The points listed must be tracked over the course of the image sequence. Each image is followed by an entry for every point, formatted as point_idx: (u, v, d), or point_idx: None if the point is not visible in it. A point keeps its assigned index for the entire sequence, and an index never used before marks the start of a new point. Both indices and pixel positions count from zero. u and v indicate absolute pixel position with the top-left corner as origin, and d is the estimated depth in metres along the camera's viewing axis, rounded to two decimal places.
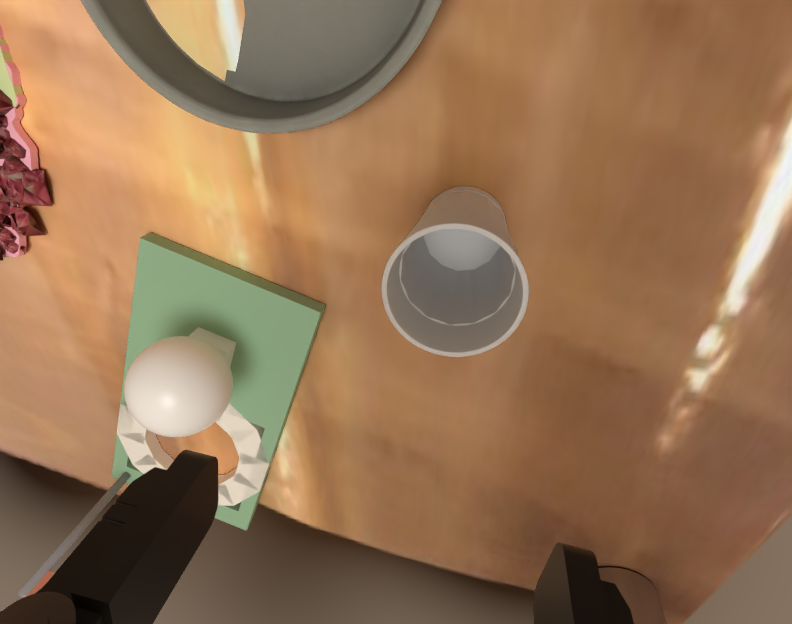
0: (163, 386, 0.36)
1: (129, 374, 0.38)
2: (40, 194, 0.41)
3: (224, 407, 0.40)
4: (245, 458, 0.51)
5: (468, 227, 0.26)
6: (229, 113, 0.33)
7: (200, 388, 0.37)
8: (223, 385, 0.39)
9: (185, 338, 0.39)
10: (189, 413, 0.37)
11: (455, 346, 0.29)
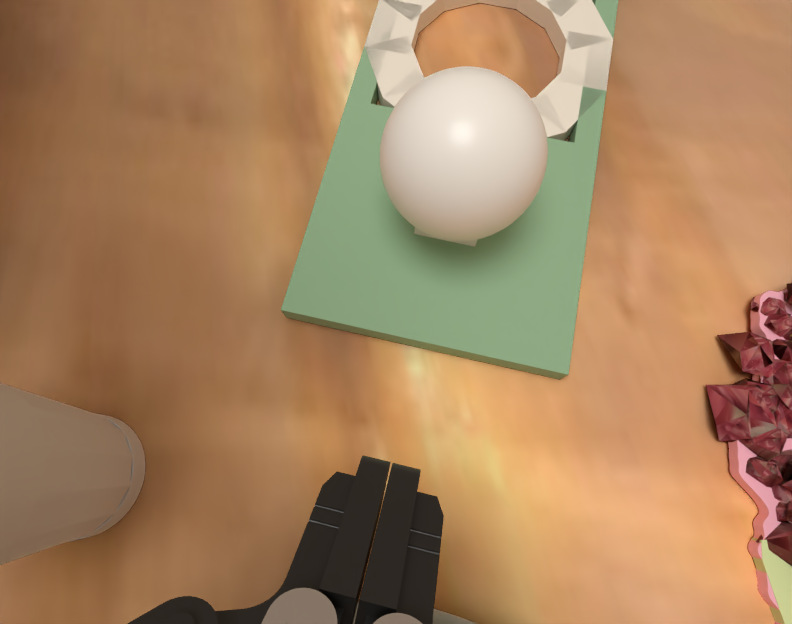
0: (457, 161, 0.21)
1: (531, 167, 0.22)
2: (722, 404, 0.27)
3: None
4: (402, 47, 0.33)
5: None
6: None
7: (403, 169, 0.22)
8: (383, 176, 0.24)
9: (461, 240, 0.24)
10: (412, 120, 0.21)
11: None
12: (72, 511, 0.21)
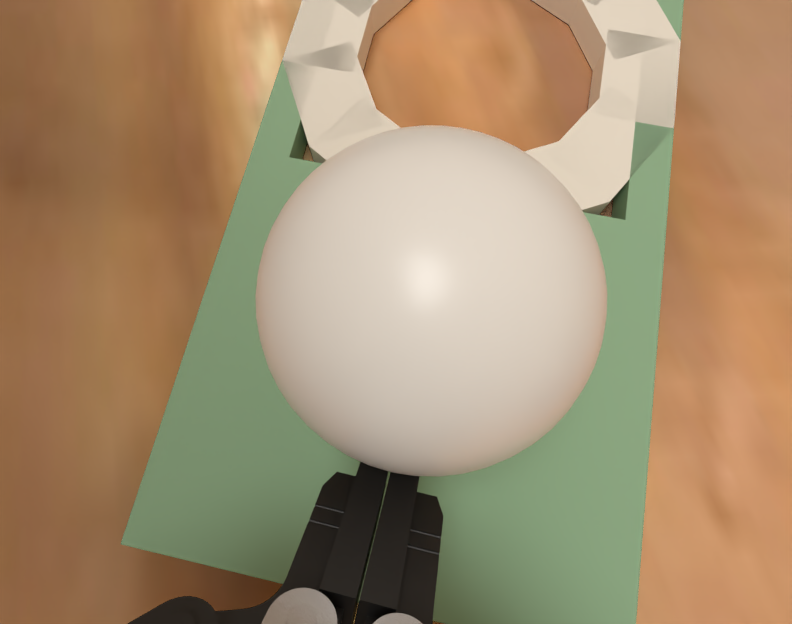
0: (401, 377, 0.08)
1: (578, 362, 0.09)
2: None
3: None
4: (342, 60, 0.21)
5: None
6: None
7: (286, 368, 0.10)
8: None
9: None
10: (298, 265, 0.09)
11: None
12: None
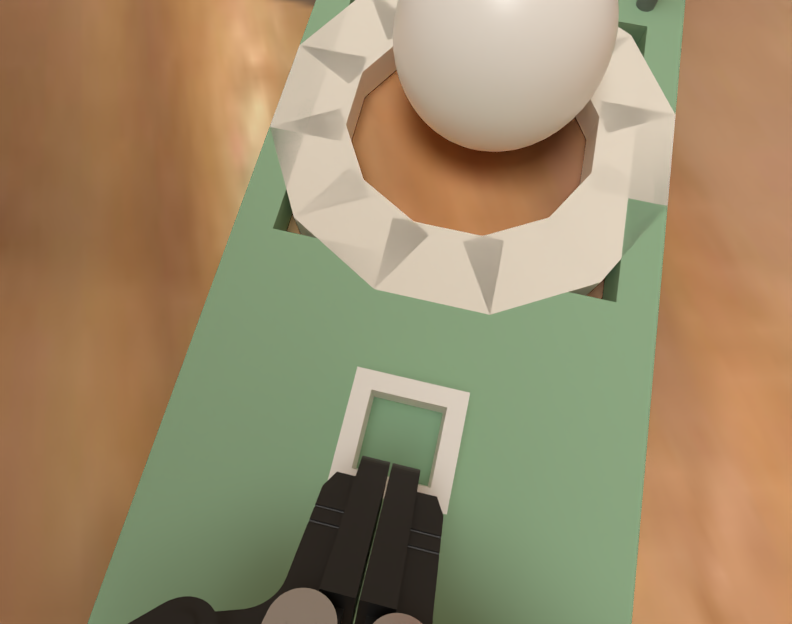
0: None
1: None
2: None
3: None
4: (331, 128, 0.20)
5: None
6: None
7: None
8: None
9: None
10: None
11: None
12: None
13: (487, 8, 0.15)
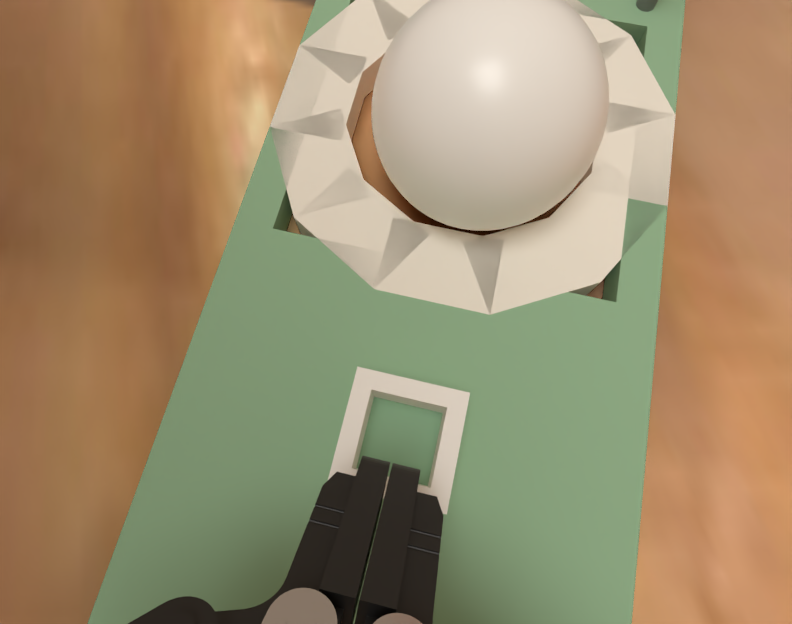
0: None
1: None
2: None
3: None
4: (331, 128, 0.20)
5: None
6: None
7: None
8: None
9: None
10: None
11: None
12: None
13: (448, 206, 0.16)
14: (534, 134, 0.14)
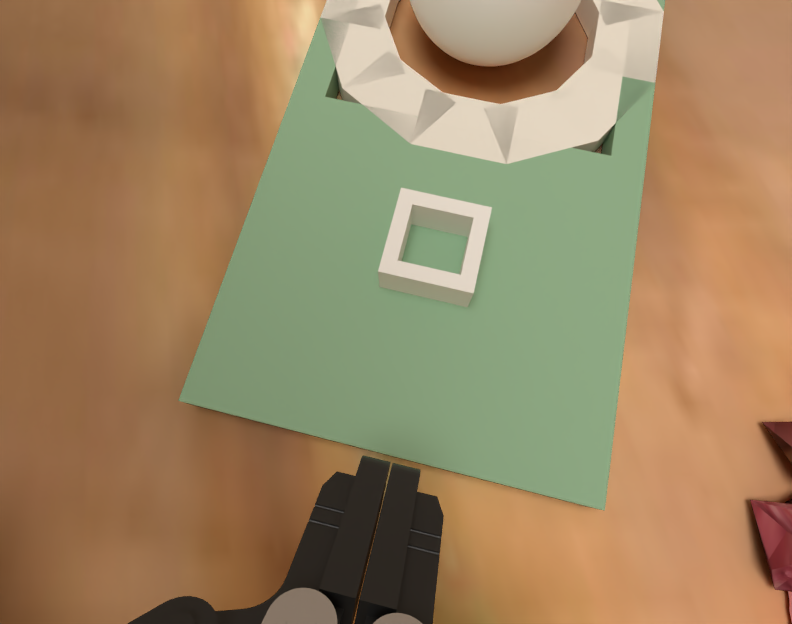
0: None
1: None
2: (778, 534, 0.18)
3: None
4: (372, 19, 0.24)
5: None
6: None
7: None
8: None
9: None
10: None
11: None
12: None
13: None
14: None
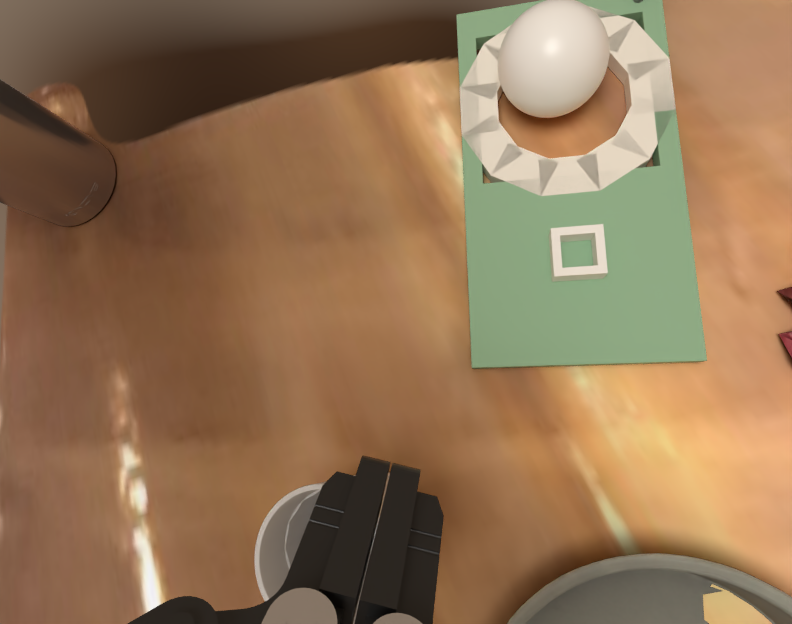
0: None
1: None
2: None
3: None
4: (492, 126, 0.40)
5: None
6: None
7: None
8: None
9: None
10: None
11: (300, 494, 0.29)
12: None
13: (542, 69, 0.35)
14: (560, 17, 0.34)
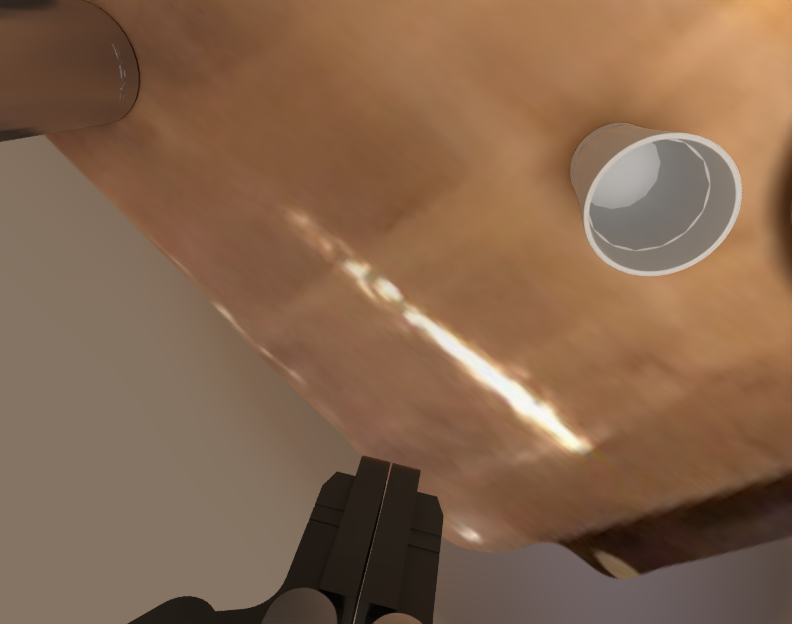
0: None
1: None
2: None
3: None
4: None
5: (702, 256, 0.28)
6: None
7: None
8: None
9: None
10: None
11: None
12: None
13: None
14: None
